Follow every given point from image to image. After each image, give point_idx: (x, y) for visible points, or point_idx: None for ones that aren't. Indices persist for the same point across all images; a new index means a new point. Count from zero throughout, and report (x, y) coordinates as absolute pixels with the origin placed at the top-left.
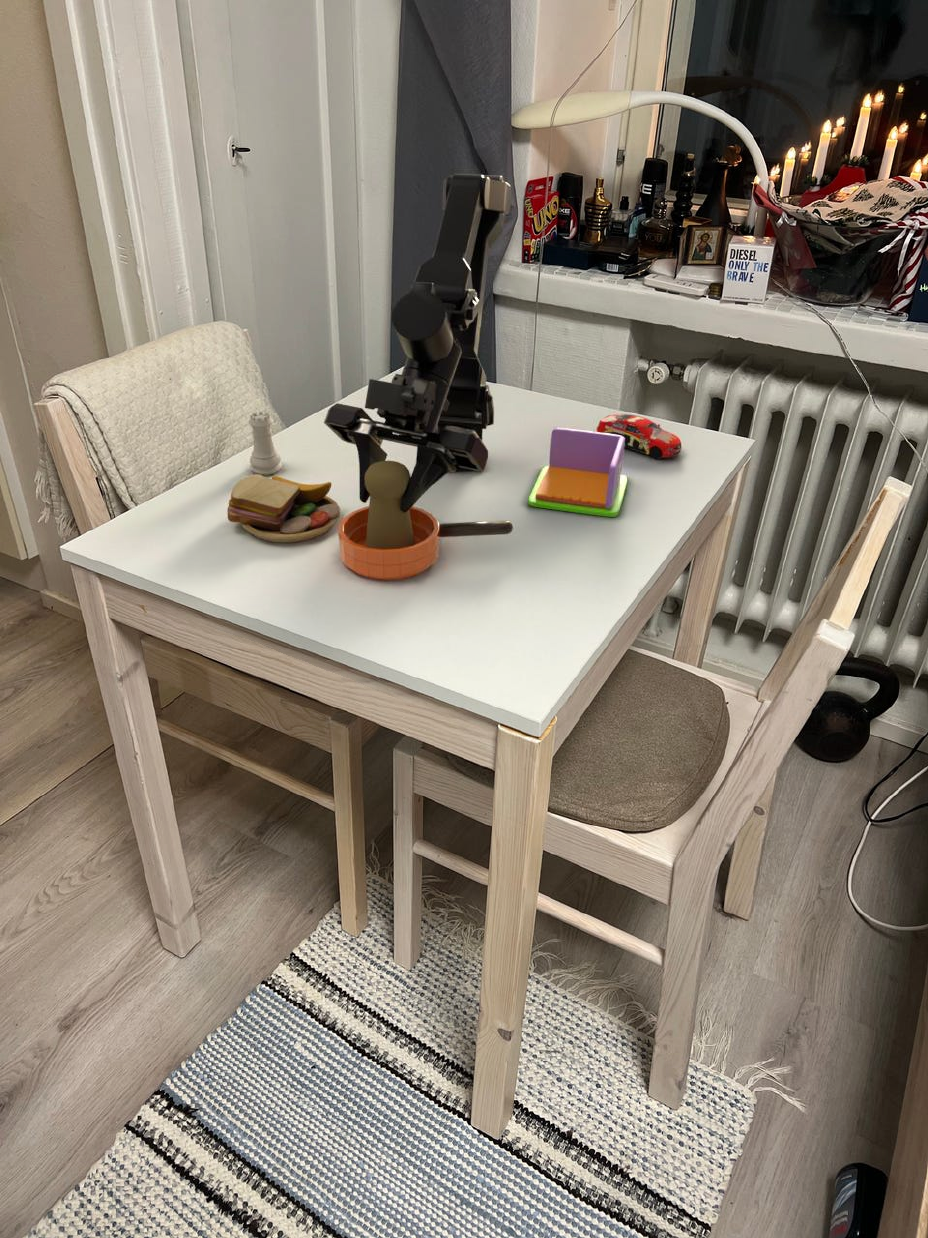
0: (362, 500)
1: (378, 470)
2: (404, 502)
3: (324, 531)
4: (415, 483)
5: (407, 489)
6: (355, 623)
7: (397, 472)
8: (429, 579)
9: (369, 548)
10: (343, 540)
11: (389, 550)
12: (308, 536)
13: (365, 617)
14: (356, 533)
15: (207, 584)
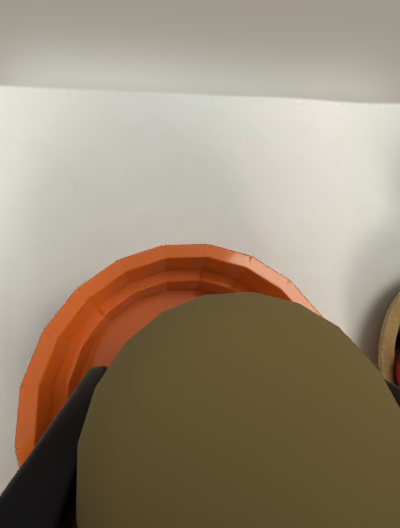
0: None
1: (282, 363)
2: (84, 386)
3: None
4: (6, 506)
5: (75, 445)
6: (94, 146)
7: (134, 451)
8: None
9: (163, 254)
10: (253, 258)
11: (106, 275)
12: (382, 325)
13: (88, 168)
14: None
15: (379, 128)
